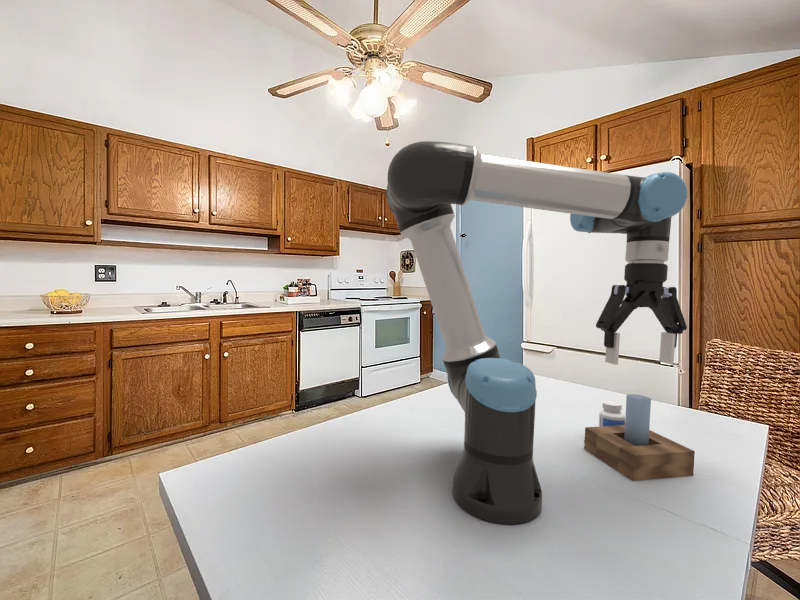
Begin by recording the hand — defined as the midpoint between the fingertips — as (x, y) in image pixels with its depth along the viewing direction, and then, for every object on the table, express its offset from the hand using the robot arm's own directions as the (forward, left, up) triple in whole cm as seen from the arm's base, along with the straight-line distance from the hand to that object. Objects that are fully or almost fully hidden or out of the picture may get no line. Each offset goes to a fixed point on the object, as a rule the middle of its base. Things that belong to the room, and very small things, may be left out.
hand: (639, 363), depth 79 cm
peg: (0, 0, -21) cm, 21 cm away
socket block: (0, 0, -21) cm, 21 cm away
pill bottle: (+3, +9, -22) cm, 24 cm away
